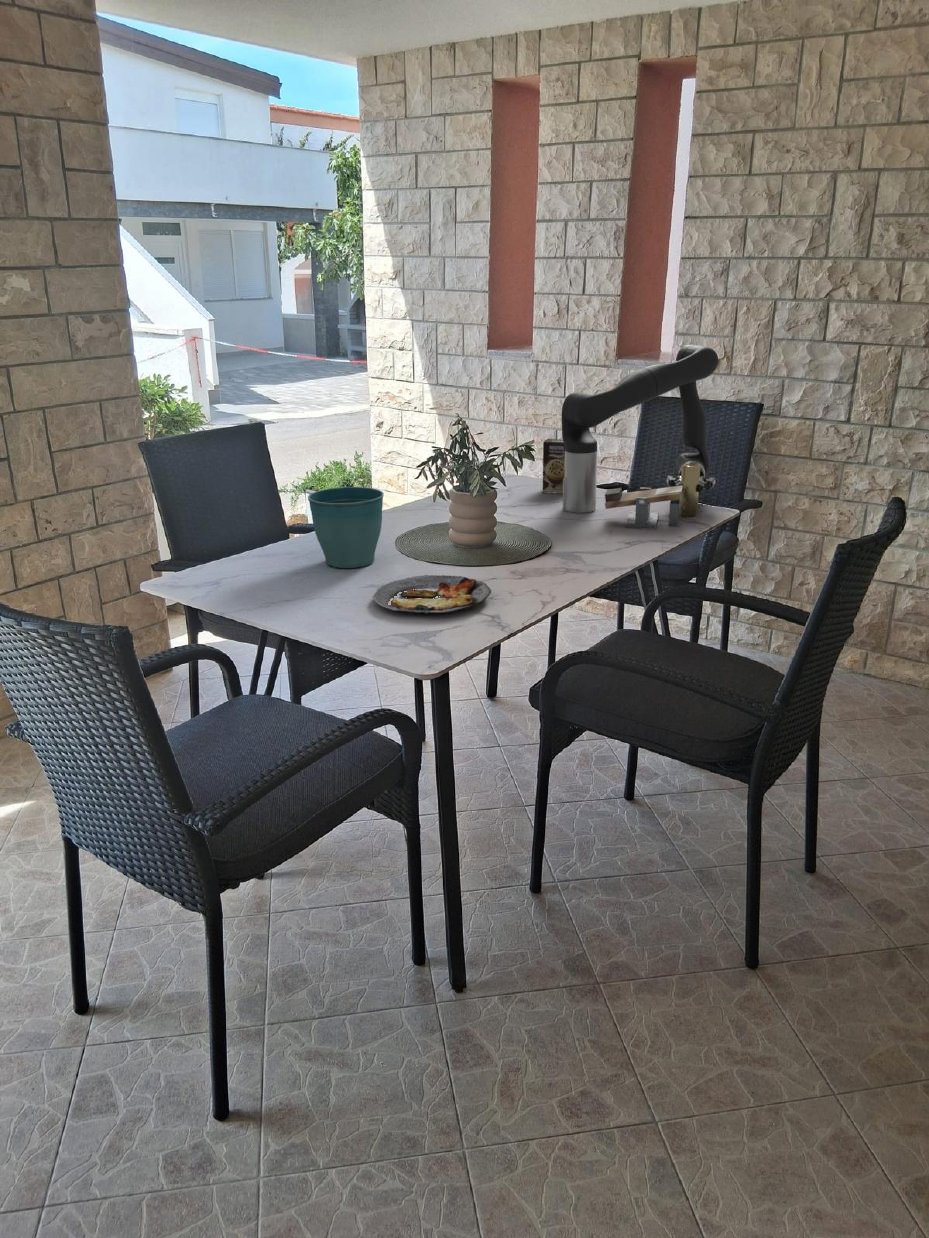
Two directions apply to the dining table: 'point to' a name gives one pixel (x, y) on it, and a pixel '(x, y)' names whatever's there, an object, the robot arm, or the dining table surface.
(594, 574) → the dining table surface
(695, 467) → the block
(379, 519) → the flower pot
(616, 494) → the beam
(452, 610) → the food plate
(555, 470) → the cookie box
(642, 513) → the beam stand
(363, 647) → the dining table surface
